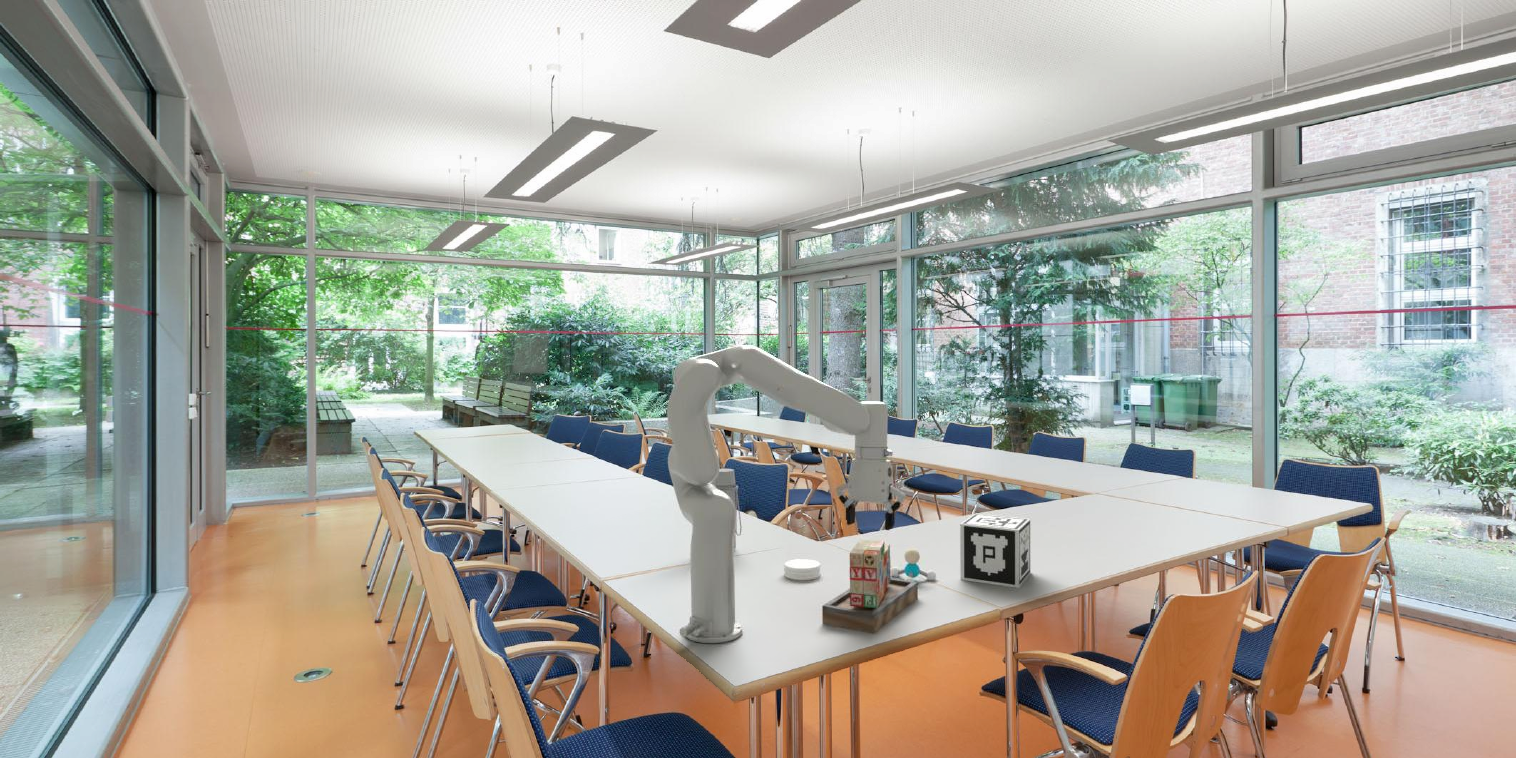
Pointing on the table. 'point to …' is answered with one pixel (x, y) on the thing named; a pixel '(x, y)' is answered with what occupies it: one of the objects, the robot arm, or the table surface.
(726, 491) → the water bottle
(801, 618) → the table surface
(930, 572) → the molecule model
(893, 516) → the robot arm
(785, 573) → the coaster
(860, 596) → the stack of blocks
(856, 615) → the wooden tray
